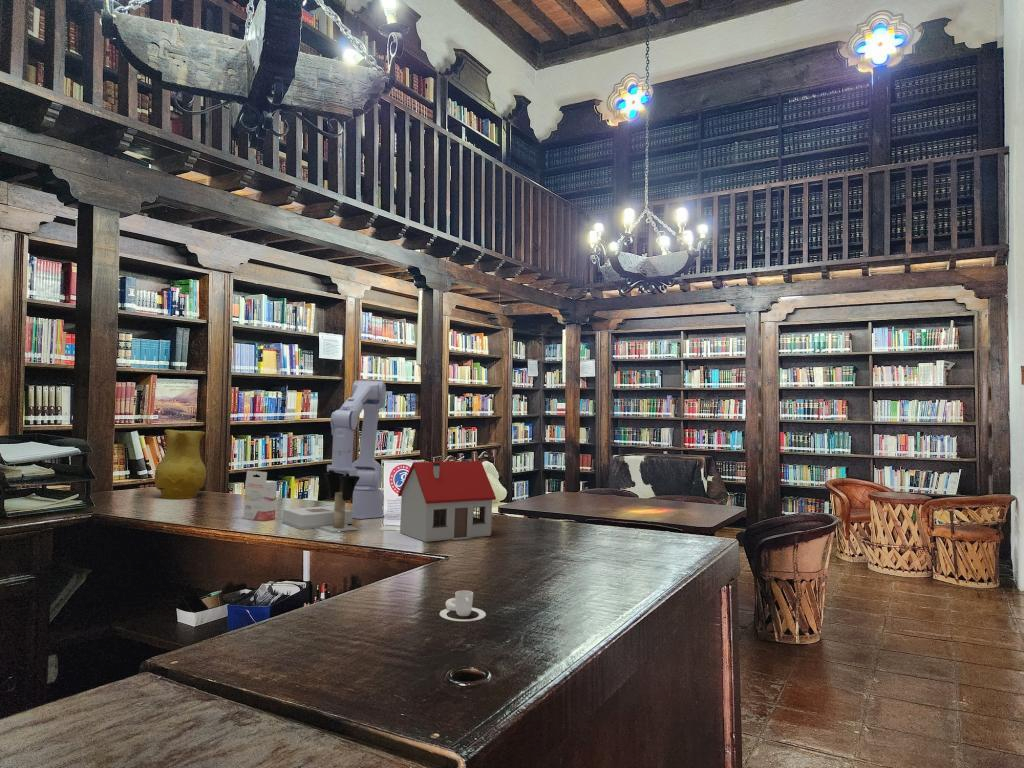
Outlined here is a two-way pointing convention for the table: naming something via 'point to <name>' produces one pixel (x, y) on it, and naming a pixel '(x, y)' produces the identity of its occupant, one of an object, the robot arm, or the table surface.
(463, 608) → the teacup and saucer
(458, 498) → the house model
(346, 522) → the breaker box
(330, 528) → the rest pad
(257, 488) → the ink cartridge box
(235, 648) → the table surface
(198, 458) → the pitcher
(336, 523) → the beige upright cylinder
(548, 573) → the table surface
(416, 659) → the table surface
